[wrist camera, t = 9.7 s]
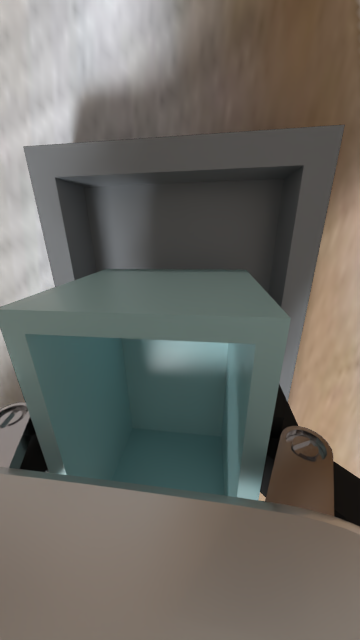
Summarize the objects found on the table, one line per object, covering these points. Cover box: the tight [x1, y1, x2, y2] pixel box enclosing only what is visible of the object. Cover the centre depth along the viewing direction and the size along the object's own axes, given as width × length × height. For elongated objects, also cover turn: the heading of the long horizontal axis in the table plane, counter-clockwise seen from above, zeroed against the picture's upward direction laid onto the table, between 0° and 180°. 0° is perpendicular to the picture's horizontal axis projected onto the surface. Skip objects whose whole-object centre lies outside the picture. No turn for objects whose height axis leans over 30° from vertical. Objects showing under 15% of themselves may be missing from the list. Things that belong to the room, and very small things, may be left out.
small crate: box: [0, 269, 291, 500], centre depth 9 cm, size 10×6×6 cm, turn 1°
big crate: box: [23, 125, 345, 402], centre depth 14 cm, size 20×13×4 cm, turn 1°
